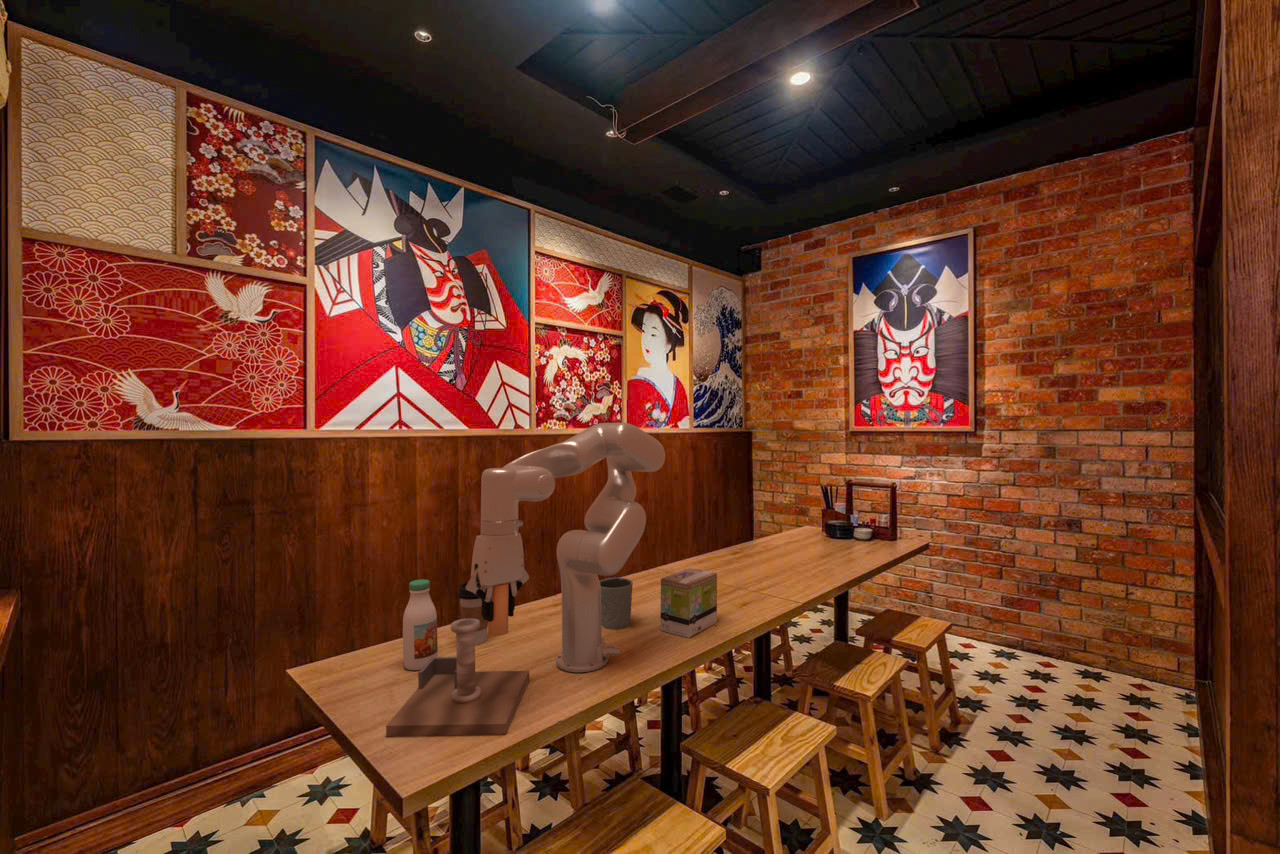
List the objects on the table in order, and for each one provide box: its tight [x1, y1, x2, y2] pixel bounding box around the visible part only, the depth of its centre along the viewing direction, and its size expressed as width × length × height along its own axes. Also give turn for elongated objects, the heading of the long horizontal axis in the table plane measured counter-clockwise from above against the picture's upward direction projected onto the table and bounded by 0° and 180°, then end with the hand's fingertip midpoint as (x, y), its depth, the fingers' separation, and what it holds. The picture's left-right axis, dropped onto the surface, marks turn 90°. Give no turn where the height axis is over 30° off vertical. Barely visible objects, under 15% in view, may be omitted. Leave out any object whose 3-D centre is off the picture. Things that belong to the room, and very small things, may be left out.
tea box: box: [659, 567, 718, 639], centre depth 154 cm, size 15×10×15 cm, turn 143°
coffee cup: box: [457, 581, 488, 646], centre depth 146 cm, size 8×8×15 cm
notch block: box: [417, 656, 457, 689], centre depth 119 cm, size 8×8×4 cm
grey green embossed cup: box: [599, 577, 634, 630], centre depth 157 cm, size 10×10×12 cm
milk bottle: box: [402, 579, 439, 671], centre depth 132 cm, size 8×8×20 cm
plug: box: [487, 583, 509, 637], centre depth 112 cm, size 4×4×10 cm
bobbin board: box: [385, 618, 530, 738], centre depth 112 cm, size 22×22×17 cm
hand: (498, 616), depth 112 cm, fingers closed on plug, 4 cm apart
